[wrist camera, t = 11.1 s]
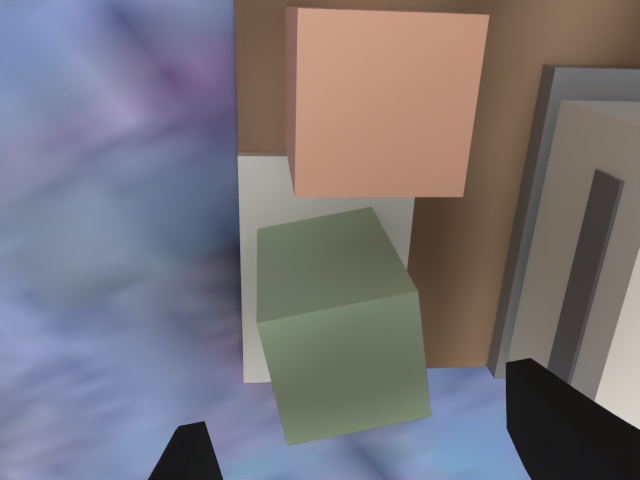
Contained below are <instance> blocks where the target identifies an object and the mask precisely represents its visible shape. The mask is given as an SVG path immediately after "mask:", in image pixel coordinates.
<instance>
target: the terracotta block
mask: <svg viewBox="0 0 640 480" xmlns="http://www.w3.org/2000/svg"><path fill="white" fill-rule="evenodd" d="M488 22H489V15H482V14H465V13H448V12H431V11H414V10H386V9H359V8H331V7H303V6H285V41H284V142H285V147H286V152H287V158H288V163H289V169H290V174H291V180H292V185H293V191H294V196H295V197H463V194H464V187H465V180H466V173H467V166H468V159H469V152H470V146H471V139H472V132H473V125H474V118H475V111H476V104H477V98H478V91H479V84H480V77H481V70H482V63H483V56H484V49H485V43H486V36H487V29H488Z"/></svg>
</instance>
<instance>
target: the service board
mask: <svg viewBox="0 0 640 480" xmlns="http://www.w3.org/2000/svg"><path fill="white" fill-rule="evenodd" d="M285 6H303V7H331V8H359V9H386V10H414V11H431V12H448V13H465V14H482V15H489V22H488V29H487V36H486V43H485V49H484V56H483V63H482V70H481V77H480V84H479V91H478V98H477V104H476V111H475V118H474V125H473V132H472V139H471V146H470V152H469V159H468V166H467V173H466V180H465V187H464V194H463V197H415V200H414V210H413V219H412V228H411V237H410V246H409V256H408V265H407V272H408V274H409V276H410V277H411V279H412V281H413V283H414V285H415V287H416V288H417V290H418V295H419V305H420V314H421V324H422V333H423V343H424V352H425V362H426V368H448V367H475V366H487V362H488V357H489V351H490V346H491V341H492V335H493V330H494V325H495V319H496V314H497V309H498V303H499V298H500V293H501V288H502V282H503V277H504V272H505V266H506V261H507V256H508V250H509V245H510V240H511V234H512V229H513V224H514V219H515V213H516V208H517V203H518V197H519V192H520V187H521V181H522V176H523V171H524V165H525V160H526V155H527V150H528V144H529V139H530V134H531V128H532V123H533V118H534V112H535V107H536V102H537V96H538V91H539V86H540V81H541V75H542V70H543V65H570V66H609V67H640V0H234V11H235V48H236V86H237V123H238V152H273V153H287V152H286V147H285V142H284V41H285Z"/></svg>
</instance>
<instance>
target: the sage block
mask: <svg viewBox="0 0 640 480" xmlns="http://www.w3.org/2000/svg"><path fill="white" fill-rule="evenodd" d="M256 324H257V327H258V331H259V335H260V339H261V343H262V347H263V351H264V355H265V359H266V363H267V367H268V371H269V374H270V378H271V382H272V386H273V390H274V394H275V398H276V402H277V406H278V410H279V414H280V418H281V422H282V425H283V429H284V433H285V437H286V441H287V445H288V446H290V445H295V444H300V443H305V442H310V441H315V440H319V439H324V438H329V437H334V436H339V435H344V434H349V433H353V432H358V431H363V430H368V429H373V428H378V427H383V426H387V425H392V424H397V423H402V422H407V421H412V420H417V419H422V418H426V417H431V409H430V400H429V390H428V381H427V371H426V362H425V352H424V343H423V333H422V324H421V314H420V305H419V295H418V290H417V288H416V287H415V285H414V283H413V281H412V279H411V277H410V276H409V274H408V272H407V270H406V268H405V267H404V265H403V263H402V261H401V259H400V257H399V256H398V254H397V252H396V250H395V248H394V247H393V245H392V243H391V241H390V239H389V237H388V236H387V234H386V232H385V230H384V228H383V226H382V225H381V223H380V221H379V219H378V217H377V216H376V214H375V212H374V210H373V208H372V207H367V208H362V209H357V210H352V211H346V212H341V213H336V214H331V215H326V216H321V217H316V218H310V219H305V220H300V221H295V222H290V223H285V224H280V225H275V226H269V227H264V228H259V229H257V318H256Z"/></svg>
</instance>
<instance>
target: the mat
mask: <svg viewBox="0 0 640 480" xmlns="http://www.w3.org/2000/svg"><path fill="white" fill-rule="evenodd" d="M238 184H239V220H240V257H241V294H242V331H243V368H244V383H256V382H271V378H270V374H269V371H268V367H267V363H266V359H265V355H264V351H263V347H262V343H261V339H260V335H259V331H258V327H257V324H256V318H257V229H259V228H264V227H269V226H275V225H280V224H285V223H290V222H295V221H300V220H305V219H310V218H316V217H321V216H326V215H331V214H336V213H341V212H346V211H352V210H357V209H362V208H367V207H372V208H373V210H374V212H375V214H376V216H377V217H378V219H379V221H380V223H381V225H382V226H383V228H384V230H385V232H386V234H387V236H388V237H389V239H390V241H391V243H392V245H393V247H394V248H395V250H396V252H397V254H398V256H399V257H400V259H401V261H402V263H403V265H404V267H405V268H406V270H407V265H408V256H409V246H410V237H411V228H412V219H413V210H414V200H415V197H295V196H294V191H293V185H292V180H291V174H290V169H289V163H288V158H287V153H273V152H238Z"/></svg>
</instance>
